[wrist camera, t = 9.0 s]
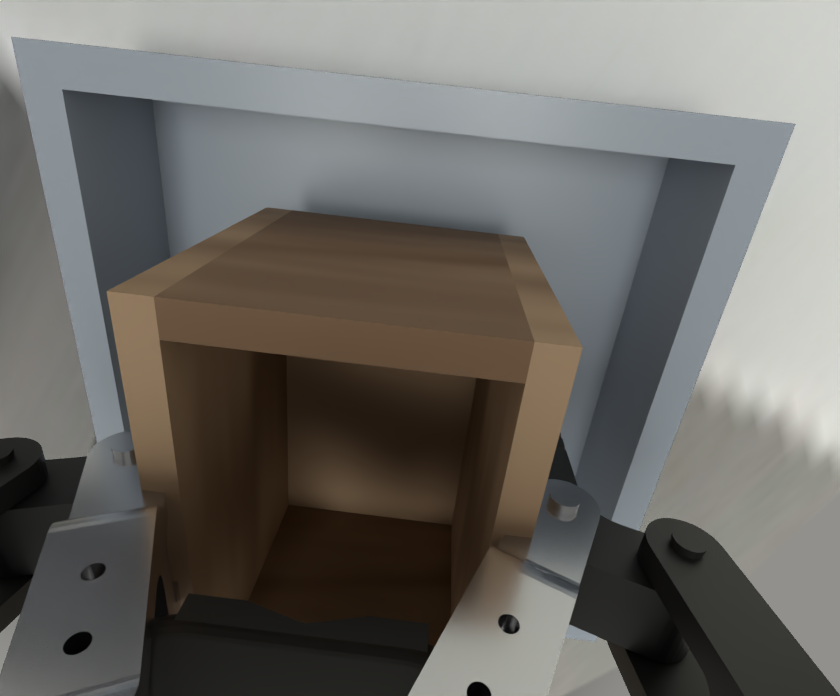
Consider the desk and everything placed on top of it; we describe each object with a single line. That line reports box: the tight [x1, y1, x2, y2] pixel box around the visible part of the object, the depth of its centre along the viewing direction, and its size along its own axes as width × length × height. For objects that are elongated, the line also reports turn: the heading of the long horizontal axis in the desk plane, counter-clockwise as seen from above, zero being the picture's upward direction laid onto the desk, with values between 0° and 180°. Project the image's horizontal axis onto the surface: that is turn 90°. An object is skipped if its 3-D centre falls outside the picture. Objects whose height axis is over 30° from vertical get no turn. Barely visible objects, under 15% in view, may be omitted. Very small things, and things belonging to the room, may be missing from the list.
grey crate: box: [11, 37, 795, 642], centre depth 14 cm, size 15×15×4 cm
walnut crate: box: [107, 207, 583, 647], centre depth 11 cm, size 9×6×6 cm, turn 174°
